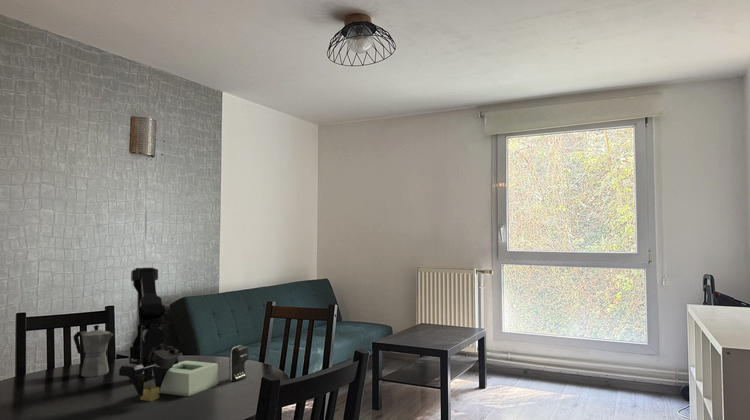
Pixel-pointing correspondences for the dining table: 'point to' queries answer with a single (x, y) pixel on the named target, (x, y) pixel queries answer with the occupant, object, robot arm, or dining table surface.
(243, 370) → the battery charger
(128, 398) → the dining table surface
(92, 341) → the coffeepot
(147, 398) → the khaki wooden block
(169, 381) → the open box
